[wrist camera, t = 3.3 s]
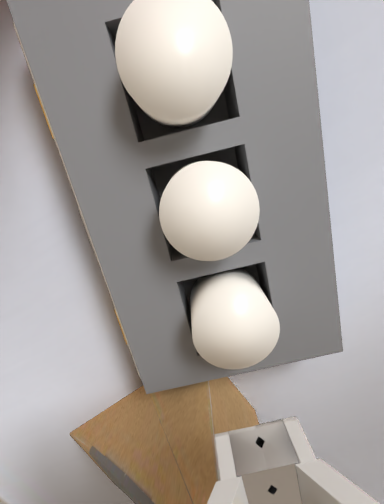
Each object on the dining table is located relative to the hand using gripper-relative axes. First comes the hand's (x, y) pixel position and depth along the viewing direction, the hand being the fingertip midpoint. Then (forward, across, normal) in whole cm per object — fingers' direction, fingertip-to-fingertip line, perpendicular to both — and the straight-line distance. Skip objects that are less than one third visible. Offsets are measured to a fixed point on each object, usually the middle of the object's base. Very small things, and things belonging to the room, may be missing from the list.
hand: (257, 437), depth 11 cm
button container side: (+11, -1, 0) cm, 11 cm away
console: (+13, -1, -7) cm, 15 cm away
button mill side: (+11, 0, -14) cm, 18 cm away
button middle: (+11, -1, -7) cm, 13 cm away
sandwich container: (+14, +8, +12) cm, 20 cm away
